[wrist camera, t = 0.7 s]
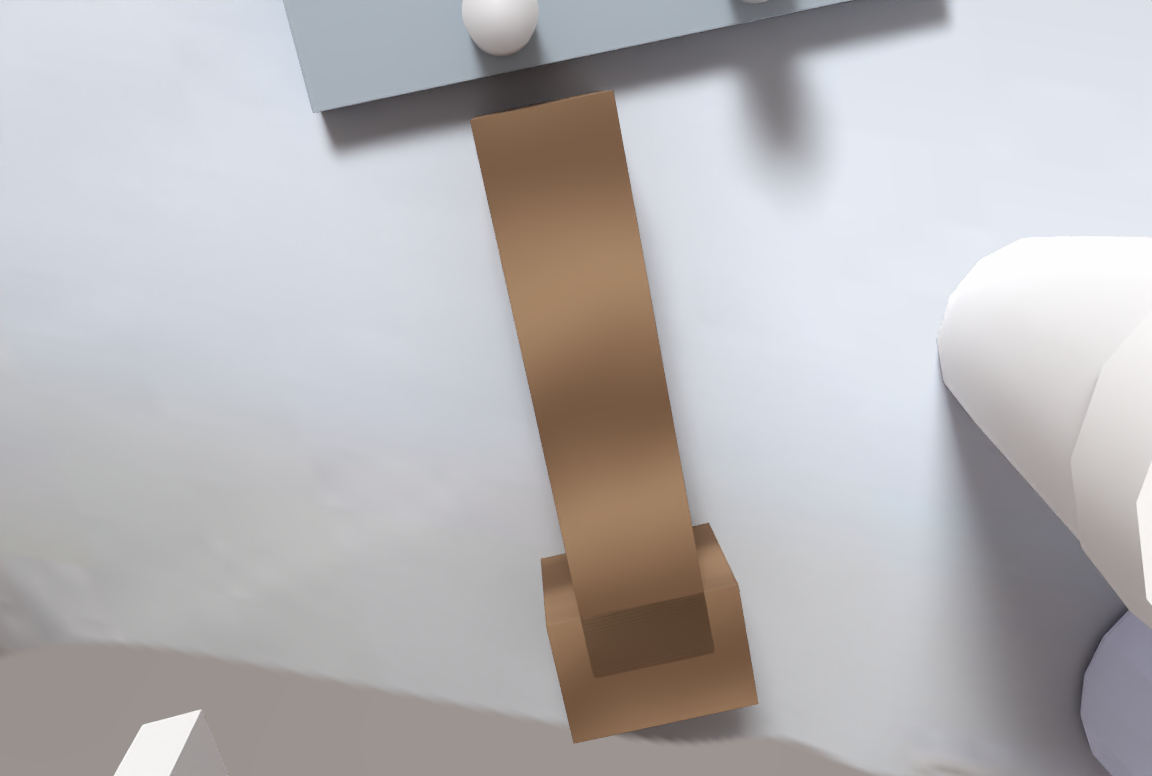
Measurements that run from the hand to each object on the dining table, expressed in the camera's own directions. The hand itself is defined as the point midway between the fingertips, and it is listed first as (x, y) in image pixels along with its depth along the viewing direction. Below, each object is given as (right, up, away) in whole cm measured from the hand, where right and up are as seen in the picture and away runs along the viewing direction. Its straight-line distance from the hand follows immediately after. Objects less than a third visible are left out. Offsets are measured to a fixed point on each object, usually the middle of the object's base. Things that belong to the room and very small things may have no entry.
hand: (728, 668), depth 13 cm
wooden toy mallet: (-2, +4, +18) cm, 19 cm away
